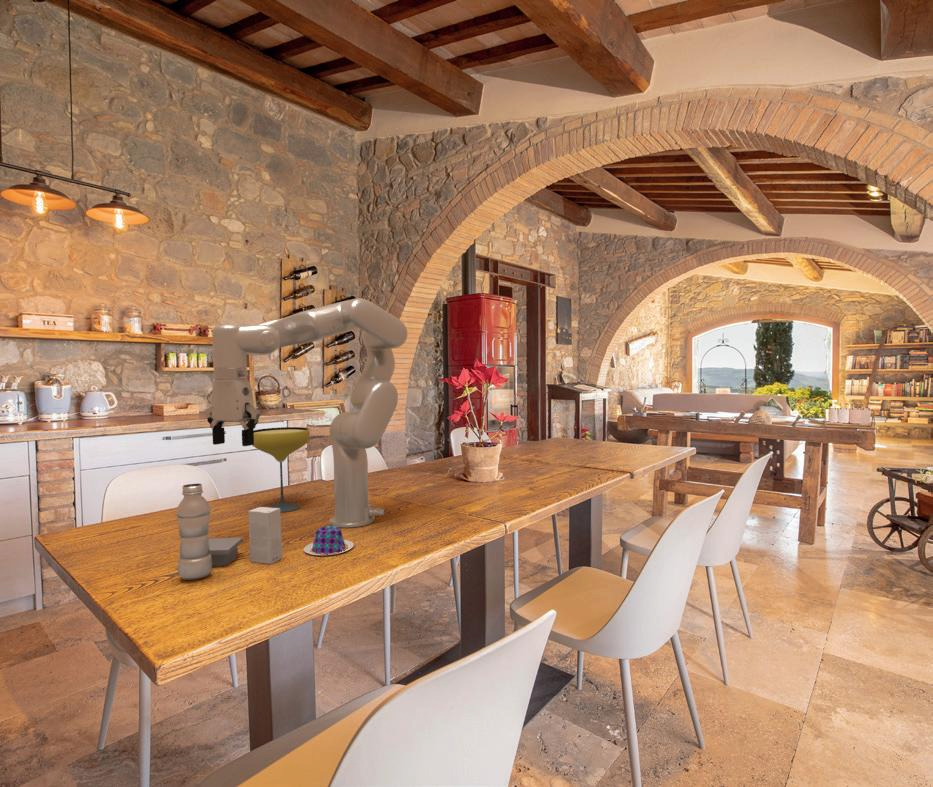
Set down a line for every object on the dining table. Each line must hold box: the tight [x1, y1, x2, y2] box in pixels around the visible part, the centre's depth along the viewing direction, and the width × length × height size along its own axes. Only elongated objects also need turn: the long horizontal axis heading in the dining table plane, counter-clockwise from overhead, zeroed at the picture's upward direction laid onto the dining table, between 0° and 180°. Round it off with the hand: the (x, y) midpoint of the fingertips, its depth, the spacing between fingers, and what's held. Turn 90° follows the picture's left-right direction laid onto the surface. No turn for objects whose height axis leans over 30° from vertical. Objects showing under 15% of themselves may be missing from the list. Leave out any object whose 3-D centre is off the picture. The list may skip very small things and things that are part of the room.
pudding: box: [303, 525, 355, 556], centre depth 135 cm, size 12×12×5 cm
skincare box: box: [247, 506, 283, 565], centre depth 127 cm, size 6×4×12 cm
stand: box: [208, 537, 244, 567], centre depth 128 cm, size 10×9×4 cm
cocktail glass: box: [251, 426, 311, 513], centre depth 175 cm, size 18×18×25 cm
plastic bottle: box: [175, 483, 213, 581], centre depth 117 cm, size 6×7×20 cm
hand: (233, 444), depth 136 cm, fingers open, 9 cm apart
